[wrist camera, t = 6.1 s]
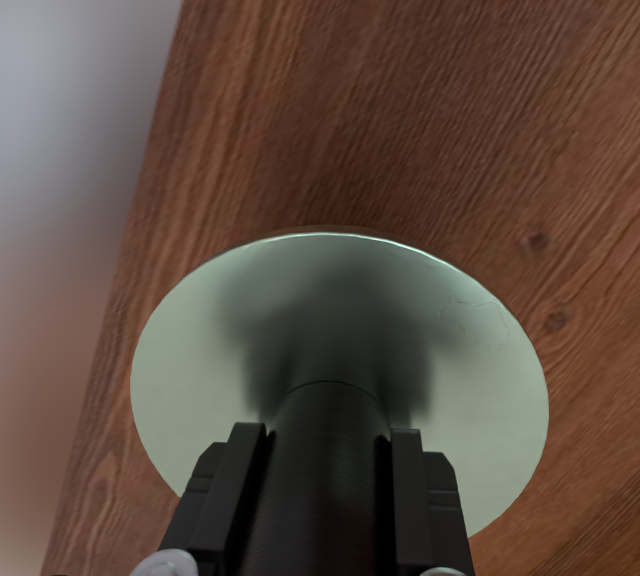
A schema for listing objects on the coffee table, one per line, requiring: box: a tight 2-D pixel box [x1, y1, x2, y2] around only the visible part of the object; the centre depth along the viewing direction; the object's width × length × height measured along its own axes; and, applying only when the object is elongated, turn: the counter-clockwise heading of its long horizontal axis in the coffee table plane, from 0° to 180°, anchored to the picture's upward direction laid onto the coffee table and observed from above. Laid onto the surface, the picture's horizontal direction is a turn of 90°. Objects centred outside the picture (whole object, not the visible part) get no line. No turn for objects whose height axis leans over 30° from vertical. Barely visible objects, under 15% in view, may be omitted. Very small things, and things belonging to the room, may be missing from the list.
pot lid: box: [130, 224, 549, 576], centre depth 11 cm, size 11×11×7 cm
